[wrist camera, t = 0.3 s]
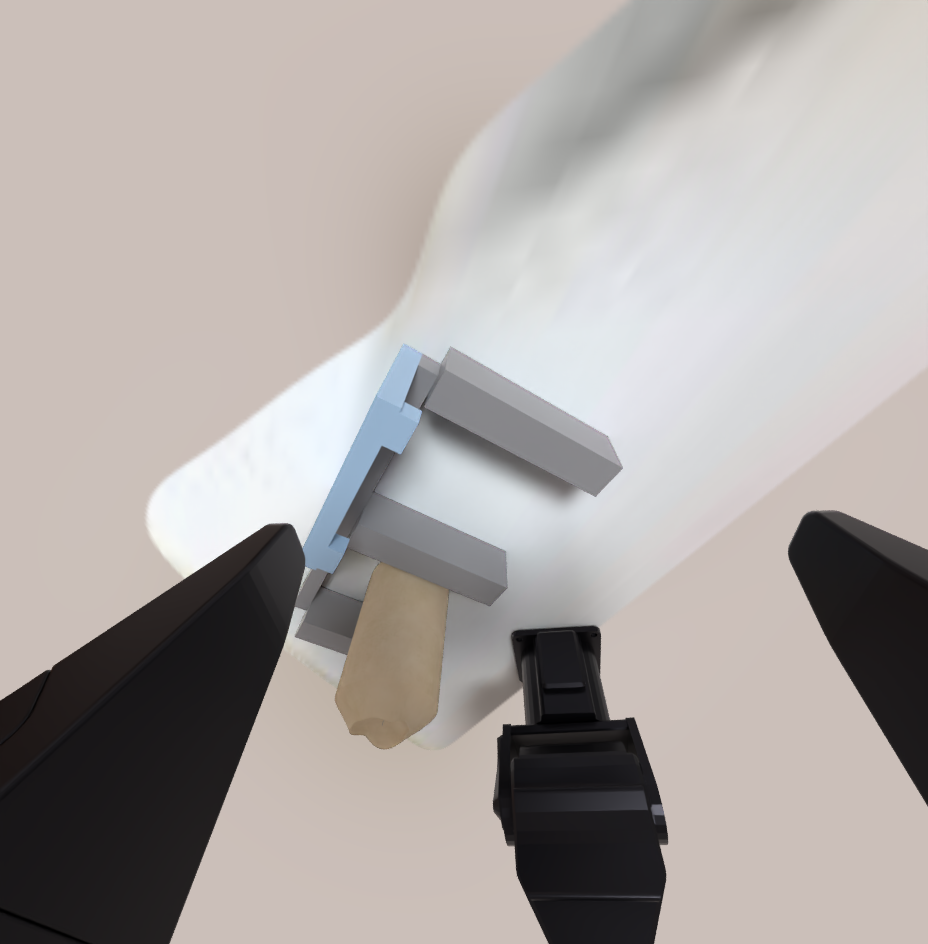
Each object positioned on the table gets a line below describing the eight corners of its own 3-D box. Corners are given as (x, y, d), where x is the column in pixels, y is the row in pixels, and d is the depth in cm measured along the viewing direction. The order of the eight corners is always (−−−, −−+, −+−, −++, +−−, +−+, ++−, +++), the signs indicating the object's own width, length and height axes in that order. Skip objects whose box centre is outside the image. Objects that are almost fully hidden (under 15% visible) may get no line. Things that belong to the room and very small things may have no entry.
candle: (450, 608, 31) (436, 762, 23) (375, 605, 31) (335, 756, 23) (449, 555, 28) (433, 711, 20) (367, 552, 28) (316, 705, 20)
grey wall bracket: (424, 643, 33) (413, 722, 28) (283, 591, 31) (244, 669, 26) (607, 436, 22) (642, 508, 17) (412, 324, 19) (386, 372, 14)
